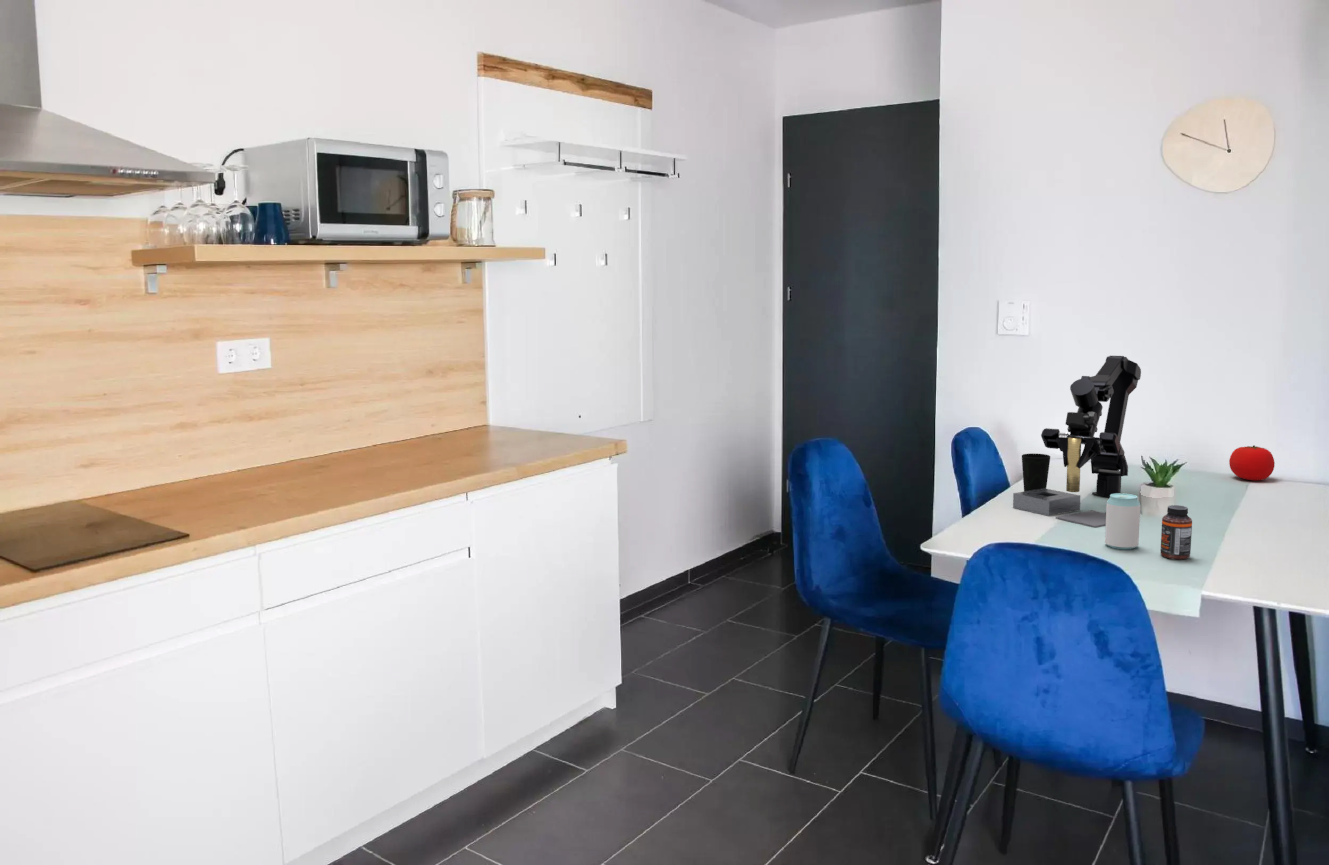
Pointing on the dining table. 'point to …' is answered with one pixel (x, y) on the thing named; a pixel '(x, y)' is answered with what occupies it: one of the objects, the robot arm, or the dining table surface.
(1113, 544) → the can
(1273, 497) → the dining table surface
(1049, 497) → the grey square hole block
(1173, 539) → the supplement bottle
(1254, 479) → the tomato
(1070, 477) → the pin
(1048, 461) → the cup
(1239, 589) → the dining table surface
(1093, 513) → the mat
